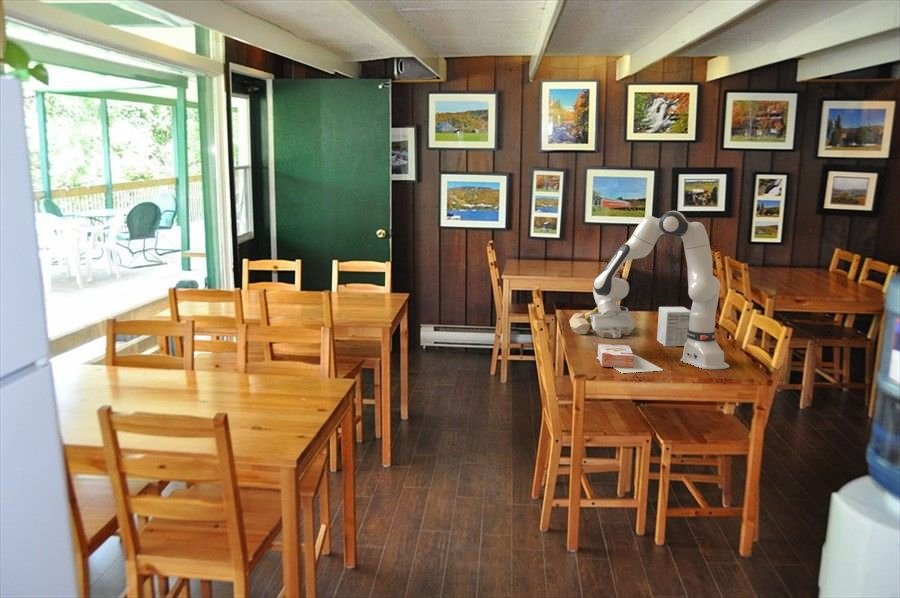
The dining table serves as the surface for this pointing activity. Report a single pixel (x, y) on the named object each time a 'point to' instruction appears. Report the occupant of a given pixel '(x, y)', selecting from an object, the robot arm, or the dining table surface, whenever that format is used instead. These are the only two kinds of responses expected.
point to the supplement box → (673, 326)
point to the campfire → (590, 324)
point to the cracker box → (615, 355)
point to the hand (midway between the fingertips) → (617, 337)
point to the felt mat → (638, 366)
